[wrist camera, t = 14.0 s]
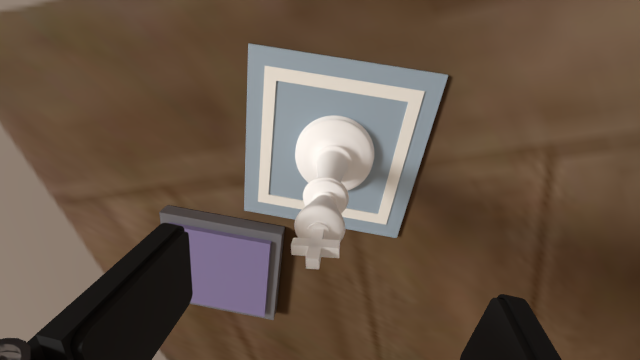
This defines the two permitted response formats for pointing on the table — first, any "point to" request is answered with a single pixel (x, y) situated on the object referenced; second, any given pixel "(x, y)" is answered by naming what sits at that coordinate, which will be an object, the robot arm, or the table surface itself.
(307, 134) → the chess piece
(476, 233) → the table surface
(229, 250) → the ink pad
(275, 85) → the pale blue flat square
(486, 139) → the table surface
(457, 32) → the table surface
